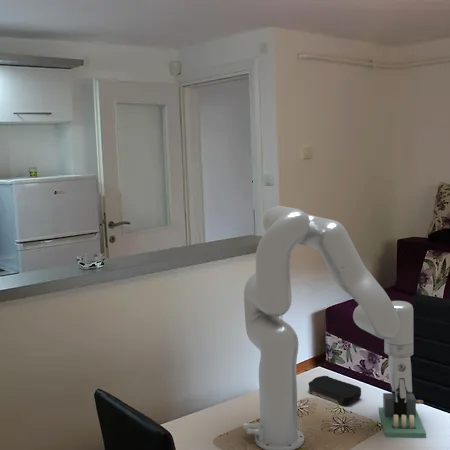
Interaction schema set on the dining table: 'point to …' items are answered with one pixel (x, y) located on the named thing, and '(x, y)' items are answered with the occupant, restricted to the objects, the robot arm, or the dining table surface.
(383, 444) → the dining table surface
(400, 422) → the header board
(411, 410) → the plug housing
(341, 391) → the black sponge
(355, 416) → the dining table surface
